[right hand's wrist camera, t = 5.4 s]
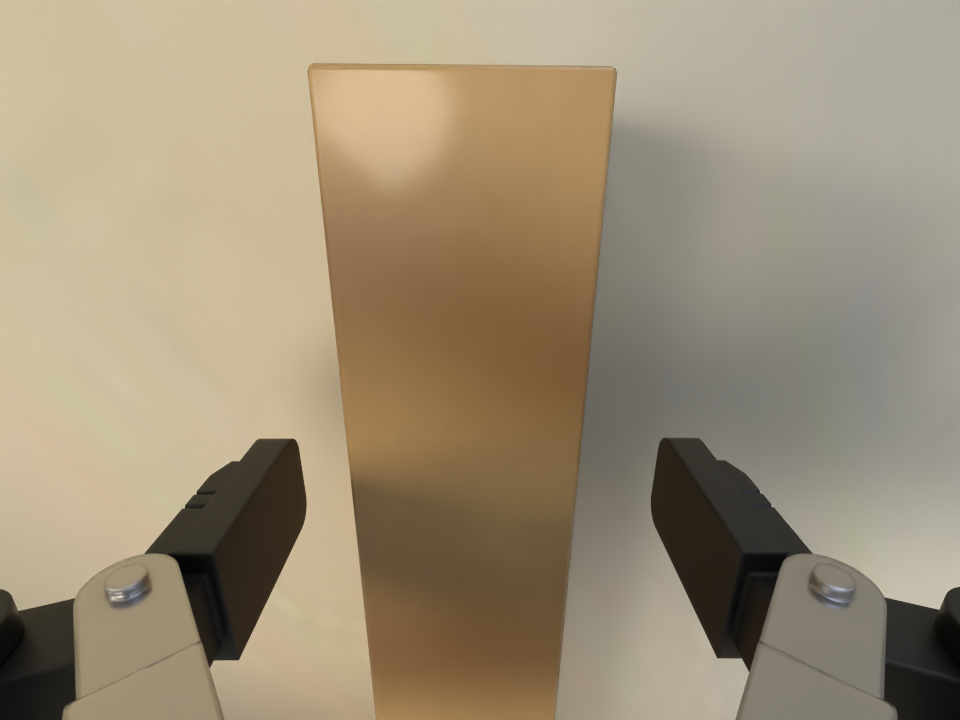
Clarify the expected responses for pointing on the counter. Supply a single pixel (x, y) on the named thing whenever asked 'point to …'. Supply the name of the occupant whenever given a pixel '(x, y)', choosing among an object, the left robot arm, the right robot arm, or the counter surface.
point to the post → (463, 362)
